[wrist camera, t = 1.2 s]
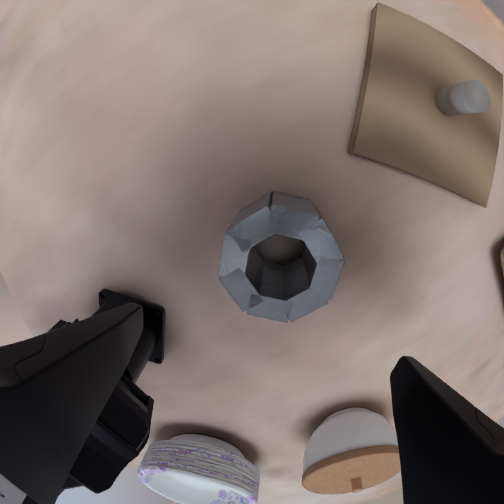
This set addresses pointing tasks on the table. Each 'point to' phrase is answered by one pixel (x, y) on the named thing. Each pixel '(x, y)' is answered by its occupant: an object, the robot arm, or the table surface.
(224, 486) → the paper bowls
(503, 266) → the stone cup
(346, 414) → the lidded jar
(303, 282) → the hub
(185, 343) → the table surface
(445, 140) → the block
